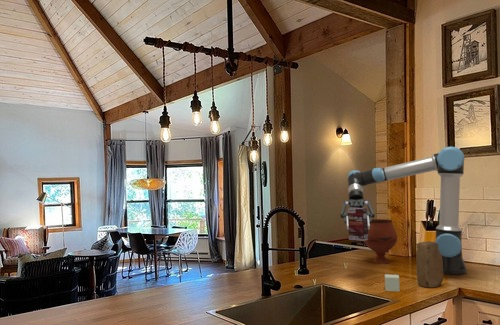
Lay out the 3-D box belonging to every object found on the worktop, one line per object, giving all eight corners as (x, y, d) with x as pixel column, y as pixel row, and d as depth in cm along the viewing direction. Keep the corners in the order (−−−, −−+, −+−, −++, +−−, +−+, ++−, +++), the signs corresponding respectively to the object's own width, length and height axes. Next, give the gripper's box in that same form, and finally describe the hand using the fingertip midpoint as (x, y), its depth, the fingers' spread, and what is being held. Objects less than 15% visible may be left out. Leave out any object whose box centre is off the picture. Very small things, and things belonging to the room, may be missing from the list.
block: (426, 288, 185) (424, 244, 186) (415, 284, 192) (413, 241, 193) (446, 286, 188) (444, 242, 189) (434, 282, 196) (432, 240, 196)
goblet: (359, 259, 253) (357, 219, 254) (389, 258, 255) (387, 217, 256) (371, 266, 234) (369, 222, 235) (403, 264, 236) (402, 221, 237)
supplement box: (348, 239, 209) (347, 208, 209) (353, 238, 212) (351, 207, 213) (364, 241, 203) (362, 208, 203) (368, 239, 206) (367, 207, 207)
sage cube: (399, 288, 188) (398, 274, 188) (399, 291, 182) (399, 277, 182) (385, 287, 190) (384, 274, 190) (385, 290, 184) (384, 277, 184)
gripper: (377, 198, 221) (381, 232, 205) (335, 199, 226) (335, 232, 209) (377, 188, 216) (381, 222, 200) (334, 189, 221) (335, 223, 205)
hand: (358, 227), depth 205 cm, fingers closed on supplement box, 9 cm apart
